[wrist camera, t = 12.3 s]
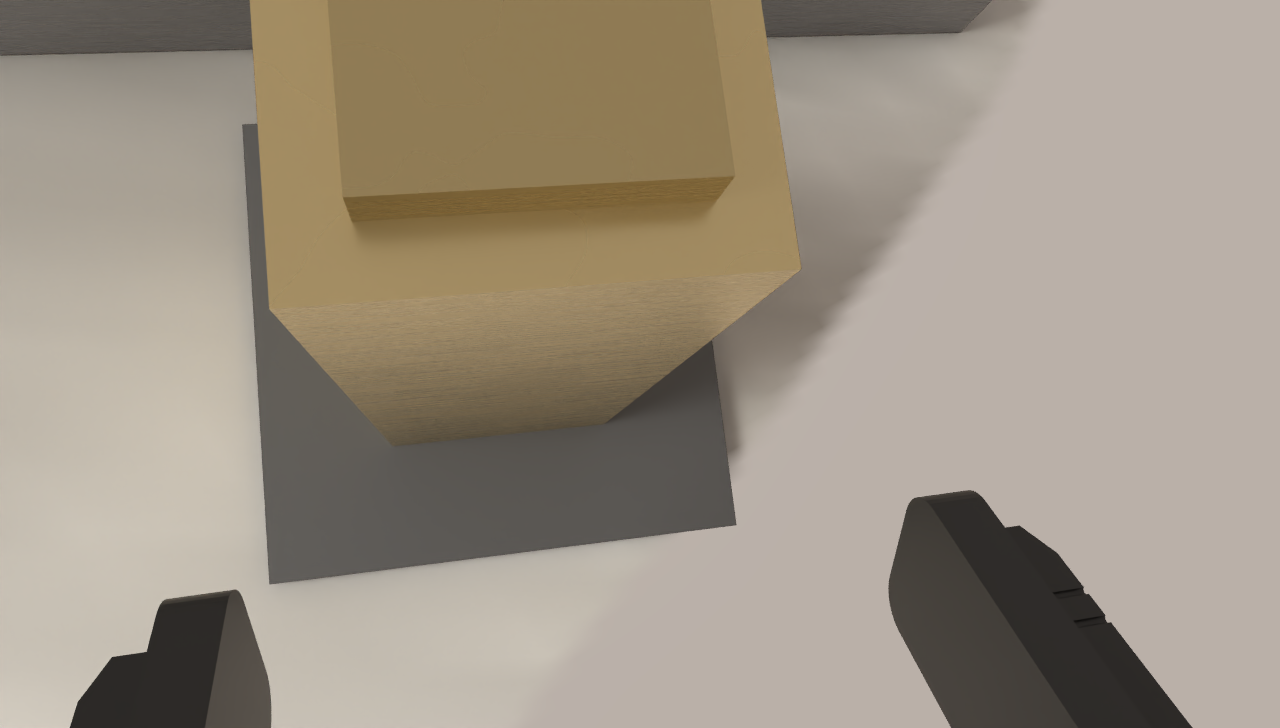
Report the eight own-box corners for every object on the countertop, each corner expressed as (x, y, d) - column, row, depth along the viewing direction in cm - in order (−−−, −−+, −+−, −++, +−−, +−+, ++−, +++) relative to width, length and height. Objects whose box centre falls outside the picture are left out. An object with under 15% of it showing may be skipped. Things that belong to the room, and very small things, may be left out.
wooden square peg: (392, 446, 20) (253, 292, 7) (375, 240, 21) (220, -248, 8) (603, 424, 21) (826, 249, 8) (581, 227, 22) (750, -231, 9)
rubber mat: (273, 583, 20) (269, 584, 19) (246, 131, 21) (242, 124, 21) (731, 525, 22) (736, 525, 21) (677, 114, 23) (680, 107, 23)
